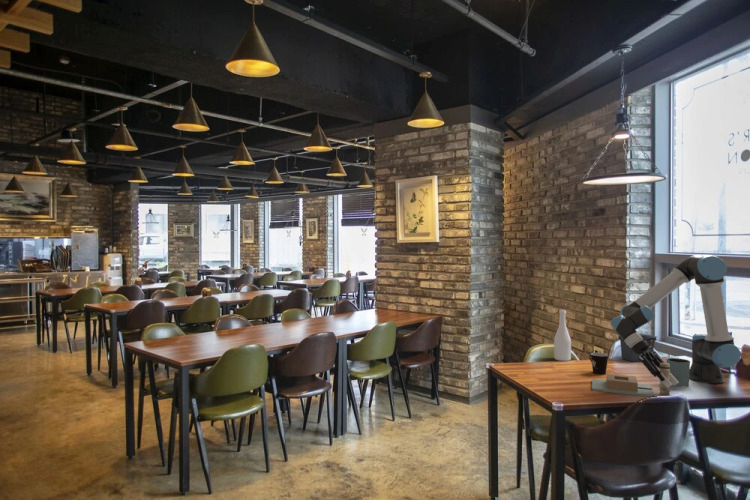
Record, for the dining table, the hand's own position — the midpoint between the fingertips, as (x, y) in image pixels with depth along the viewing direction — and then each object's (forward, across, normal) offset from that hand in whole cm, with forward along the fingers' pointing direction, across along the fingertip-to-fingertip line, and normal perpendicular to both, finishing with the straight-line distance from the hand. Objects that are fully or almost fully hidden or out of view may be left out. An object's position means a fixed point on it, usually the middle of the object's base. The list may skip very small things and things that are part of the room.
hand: (673, 385), depth 228 cm
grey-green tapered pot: (-2, -22, -9) cm, 24 cm away
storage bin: (-28, -59, -35) cm, 75 cm away
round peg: (+1, 0, -6) cm, 6 cm away
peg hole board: (-11, +8, -17) cm, 22 cm away
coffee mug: (-27, -12, -34) cm, 45 cm away
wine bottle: (-48, -23, -55) cm, 76 cm away
